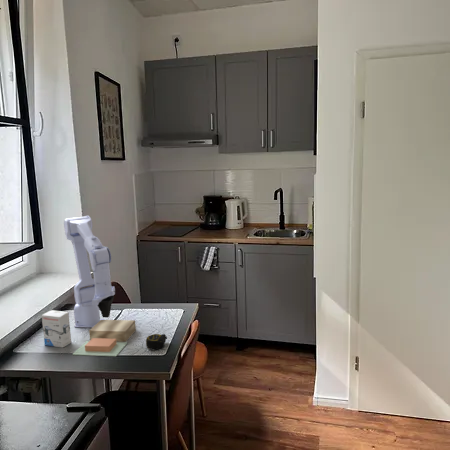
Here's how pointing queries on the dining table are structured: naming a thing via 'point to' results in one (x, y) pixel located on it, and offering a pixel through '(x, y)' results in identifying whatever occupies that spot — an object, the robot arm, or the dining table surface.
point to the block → (100, 345)
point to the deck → (113, 329)
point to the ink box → (56, 328)
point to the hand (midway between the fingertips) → (106, 316)
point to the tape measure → (156, 341)
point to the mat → (113, 352)
